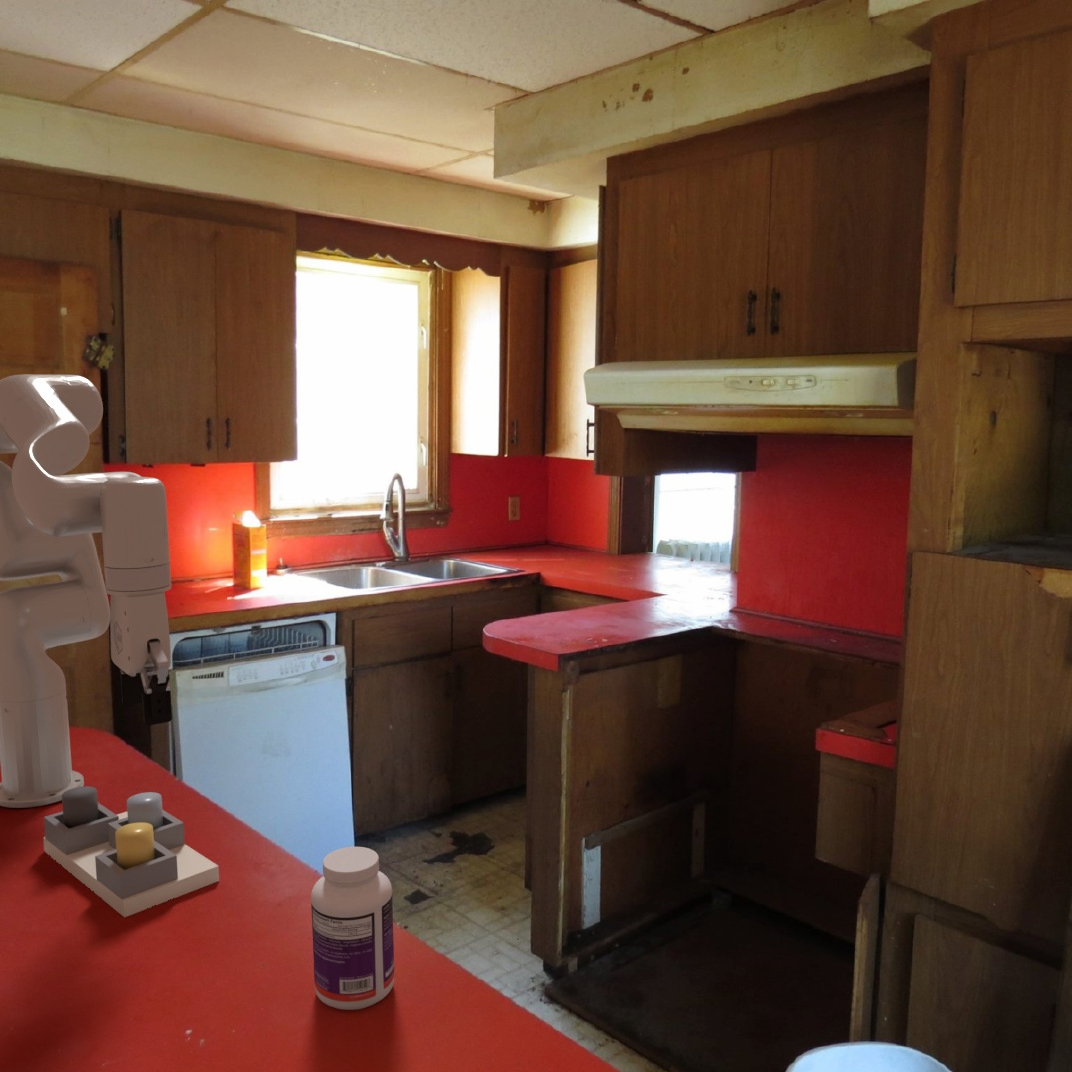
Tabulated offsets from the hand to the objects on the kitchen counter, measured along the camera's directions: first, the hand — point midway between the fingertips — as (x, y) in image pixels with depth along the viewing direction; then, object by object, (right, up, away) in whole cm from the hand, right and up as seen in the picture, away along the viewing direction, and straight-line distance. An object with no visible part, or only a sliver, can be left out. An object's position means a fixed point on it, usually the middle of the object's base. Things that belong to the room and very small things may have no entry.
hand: (146, 712), depth 126 cm
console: (-4, -20, +4) cm, 21 cm away
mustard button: (0, -17, -4) cm, 18 cm away
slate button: (-2, -16, +5) cm, 17 cm away
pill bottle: (+30, -25, -23) cm, 45 cm away
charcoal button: (-11, -15, +7) cm, 20 cm away
